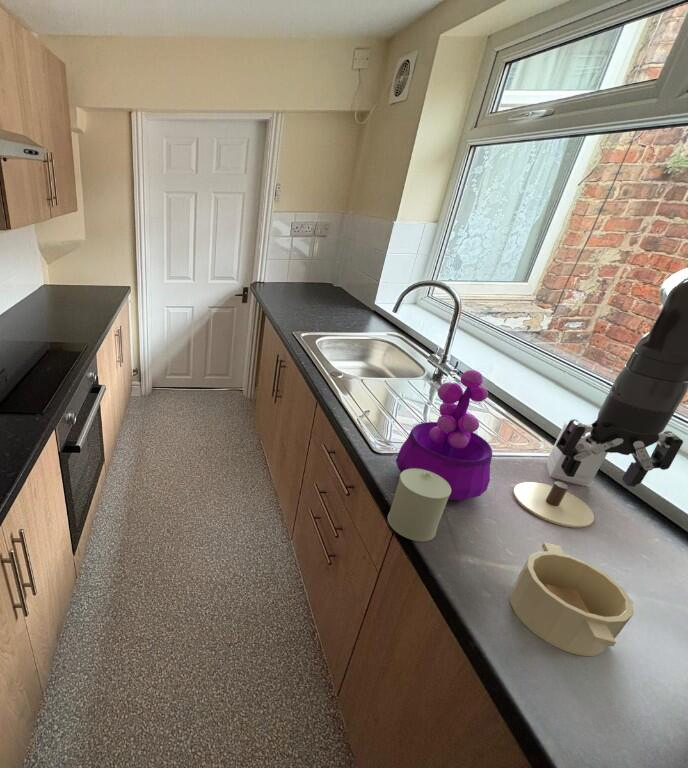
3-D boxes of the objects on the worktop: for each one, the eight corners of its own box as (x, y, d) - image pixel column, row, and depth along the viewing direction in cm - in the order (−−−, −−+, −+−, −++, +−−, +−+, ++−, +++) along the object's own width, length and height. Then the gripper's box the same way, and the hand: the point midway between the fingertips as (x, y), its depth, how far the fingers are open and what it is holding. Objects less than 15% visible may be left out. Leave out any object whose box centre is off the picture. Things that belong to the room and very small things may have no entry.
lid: (573, 493, 96) (585, 472, 93) (605, 537, 85) (619, 514, 82) (503, 480, 100) (512, 460, 98) (524, 520, 89) (535, 498, 86)
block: (565, 607, 71) (576, 590, 69) (579, 631, 67) (591, 614, 65) (535, 600, 72) (545, 583, 70) (546, 623, 68) (557, 606, 66)
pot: (576, 583, 75) (597, 550, 71) (635, 686, 60) (666, 651, 56) (495, 564, 79) (511, 532, 75) (531, 657, 64) (553, 622, 60)
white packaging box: (588, 489, 97) (613, 445, 92) (548, 478, 101) (570, 435, 95) (582, 472, 103) (605, 429, 97) (544, 462, 106) (564, 420, 101)
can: (437, 520, 89) (454, 476, 84) (433, 548, 83) (450, 503, 77) (391, 503, 94) (404, 460, 89) (383, 529, 87) (396, 485, 82)
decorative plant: (391, 495, 96) (425, 380, 83) (393, 452, 111) (421, 348, 98) (488, 521, 89) (542, 399, 75) (476, 471, 104) (519, 361, 90)
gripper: (599, 402, 64) (557, 484, 71) (721, 416, 60) (664, 501, 67) (575, 381, 70) (539, 459, 78) (684, 393, 66) (635, 473, 74)
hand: (597, 478), depth 73 cm, fingers open, 8 cm apart
